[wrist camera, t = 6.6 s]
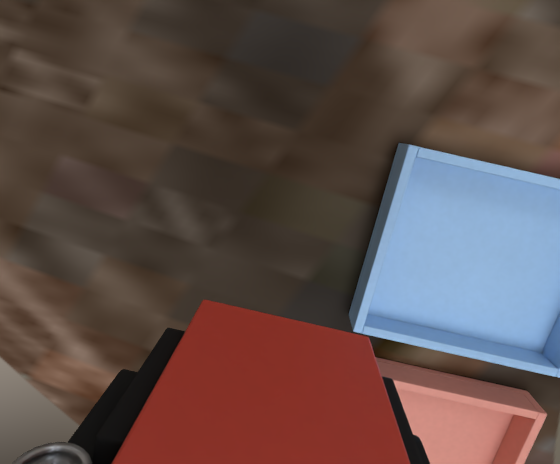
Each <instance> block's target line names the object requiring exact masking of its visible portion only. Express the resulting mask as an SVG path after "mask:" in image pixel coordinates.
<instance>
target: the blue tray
mask: <svg viewBox="0 0 560 464" xmlns="http://www.w3.org/2000/svg"><path fill="white" fill-rule="evenodd" d="M349 317H350V321H351V325H352V329H353V331H354V332H357V333H362V334H366V335H371V336H375V337H380V338H384V339H388V340H393V341H397V342H402V343H406V344H411V345H415V346H420V347H424V348H429V349H433V350H438V351H442V352H447V353H451V354H456V355H460V356H465V357H469V358H474V359H478V360H482V361H487V362H491V363H496V364H500V365H505V366H509V367H514V368H518V369H523V370H527V371H532V372H536V373H541V374H545V375H550V376H554V377H555V376H556V377H559V378H560V179H558V178H554V177H549V176H545V175H540V174H536V173H532V172H527V171H523V170H519V169H514V168H510V167H505V166H501V165H497V164H492V163H488V162H484V161H479V160H475V159H470V158H466V157H462V156H457V155H453V154H449V153H444V152H440V151H435V150H431V149H427V148H422V147H418V146H414V145H409V144H403V143H399V144H398V147H397V151H396V154H395V157H394V161H393V164H392V168H391V171H390V174H389V178H388V181H387V185H386V188H385V192H384V195H383V198H382V202H381V205H380V209H379V212H378V216H377V219H376V222H375V226H374V229H373V233H372V236H371V239H370V243H369V246H368V250H367V253H366V257H365V260H364V263H363V267H362V270H361V274H360V277H359V280H358V284H357V287H356V291H355V294H354V298H353V301H352V304H351V308H350V311H349Z"/></svg>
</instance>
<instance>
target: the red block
mask: <svg viewBox="0 0 560 464" xmlns="http://www.w3.org/2000/svg"><path fill="white" fill-rule="evenodd" d="M112 464H410V461H409V458H408V455H407V452H406V449H405V446H404V443H403V440H402V437H401V434H400V431H399V427H398V424H397V421H396V418H395V415H394V412H393V409H392V406H391V403H390V400H389V397H388V394H387V391H386V388H385V385H384V382H383V379H382V376H381V373H380V370H379V367H378V364H377V361H376V358H375V355H374V352H373V348H372V345H371V342H370V339H369V338H368V337H367V336H362V335H358V334H354V333H349V332H345V331H340V330H336V329H332V328H327V327H323V326H319V325H314V324H310V323H305V322H301V321H297V320H292V319H288V318H284V317H279V316H275V315H270V314H266V313H262V312H257V311H253V310H248V309H244V308H240V307H235V306H231V305H227V304H222V303H218V302H213V301H209V300H203V301H202V303H201V304H200V306H199V308H198V310H197V311H196V313H195V315H194V317H193V319H192V320H191V322H190V324H189V326H188V328H187V329H186V331H185V333H184V335H183V337H182V338H181V340H180V342H179V344H178V346H177V347H176V349H175V351H174V353H173V354H172V356H171V358H170V360H169V362H168V363H167V365H166V367H165V369H164V371H163V372H162V374H161V376H160V378H159V380H158V381H157V383H156V385H155V387H154V389H153V390H152V392H151V394H150V396H149V397H148V399H147V401H146V403H145V405H144V406H143V408H142V410H141V412H140V414H139V415H138V417H137V419H136V421H135V423H134V424H133V426H132V428H131V430H130V432H129V433H128V435H127V437H126V439H125V440H124V442H123V444H122V446H121V448H120V449H119V451H118V453H117V455H116V457H115V458H114V460H113V462H112Z"/></svg>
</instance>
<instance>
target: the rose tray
mask: <svg viewBox="0 0 560 464" xmlns="http://www.w3.org/2000/svg"><path fill="white" fill-rule="evenodd" d="M375 358H376V361H377V364H378V367H379V370H380V373H381V376H383V377H388V378H391V379H393V381H394V384H395V387H396V389H397V392H398V395H399V397H400V400H401V403H402V406H403V408H404V411H405V414H406V417H407V419H408V422H409V425H410V427H411V430H412V433H413V435H417V436H418V437H419V438H420V440H421V442H422V444H423V446H424V449H425V452H426V454H427V457H428V459H429V462H430V464H524V463H525V461H526V458H527V456H528V454H529V452H530V450H531V448H532V446H533V444H534V441H535V439H536V437H537V435H538V433H539V431H540V429H541V427H542V425H543V422H544V420H545V418H546V416H547V413H546V412H545V411H544V410H543V409H542V408H541V407H540V405H539V404H538V403H537V402H536V401H535V400H534V398H533V397H532V396H531V395H530V394H529V392H528V391H525V390H521V389H516V388H512V387H507V386H503V385H498V384H494V383H489V382H485V381H481V380H476V379H472V378H467V377H463V376H458V375H454V374H449V373H445V372H440V371H436V370H431V369H427V368H422V367H418V366H413V365H409V364H404V363H400V362H395V361H391V360H386V359H382V358H377V357H375Z"/></svg>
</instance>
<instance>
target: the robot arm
mask: <svg viewBox="0 0 560 464" xmlns="http://www.w3.org/2000/svg"><path fill="white" fill-rule="evenodd" d="M184 333H185V331H181V330H176V329H172V328H167V329H166V330H165V332H164V333H163V335H162V336H161V338H160V339H159V341H158V343H157V344H156V346H155V347H154V349H153V350H152V352H151V353H150V355H149V356H148V358H147V359H146V361H145V362H144V364H143V365H142V367H141V368H140V370H139V371H138V372H134V371H129V370H125V369H123V370H121V371H120V372H119V373H118V375H117V376H116V377H115V379H114V380H113V381H112V383H111V384H110V385H109V387H108V388H107V390H106V391H105V392H104V394H103V395H102V396H101V398H100V399H99V400H98V402H97V403H96V404H95V406H94V407H93V409H92V410H91V411H90V413H89V414H88V415H87V417H86V418H85V419H84V421H83V422H82V424H81V425H80V426H79V428H78V429H77V430H76V432H75V433H74V434H73V436H72V437H71V439H70V440H69V441H68V443H66V442H55V443H48V444H44V445H41V446H38V447H35V448H33V449H31V450H29V451H27V452H25V453H23V454H22V455H21V456H20V457H19V458H17V459H16V460H15V461H14V462H13V463H12V464H112V462H113V460H114V458H115V457H116V455H117V453H118V451H119V449H120V448H121V446H122V444H123V442H124V440H125V439H126V437H127V435H128V433H129V432H130V430H131V428H132V426H133V424H134V423H135V421H136V419H137V417H138V415H139V414H140V412H141V410H142V408H143V406H144V405H145V403H146V401H147V399H148V397H149V396H150V394H151V392H152V390H153V389H154V387H155V385H156V383H157V381H158V380H159V378H160V376H161V374H162V372H163V371H164V369H165V367H166V365H167V363H168V362H169V360H170V358H171V356H172V354H173V353H174V351H175V349H176V347H177V346H178V344H179V342H180V340H181V338H182V337H183V335H184ZM382 379H383V382H384V385H385V388H386V391H387V394H388V397H389V400H390V403H391V406H392V409H393V412H394V415H395V418H396V421H397V424H398V427H399V431H400V434H401V437H402V440H403V443H404V446H405V449H406V452H407V455H408V458H409V461H410V464H430V462H429V459H428V457H427V454H426V452H425V449H424V446H423V444H422V442H421V440H420V438H419V437H418V436H417V435H413V433H412V430H411V427H410V425H409V422H408V419H407V417H406V414H405V411H404V408H403V406H402V403H401V400H400V397H399V395H398V392H397V389H396V387H395V384H394V381H393V379H391V378H388V377H383V376H382Z"/></svg>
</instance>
